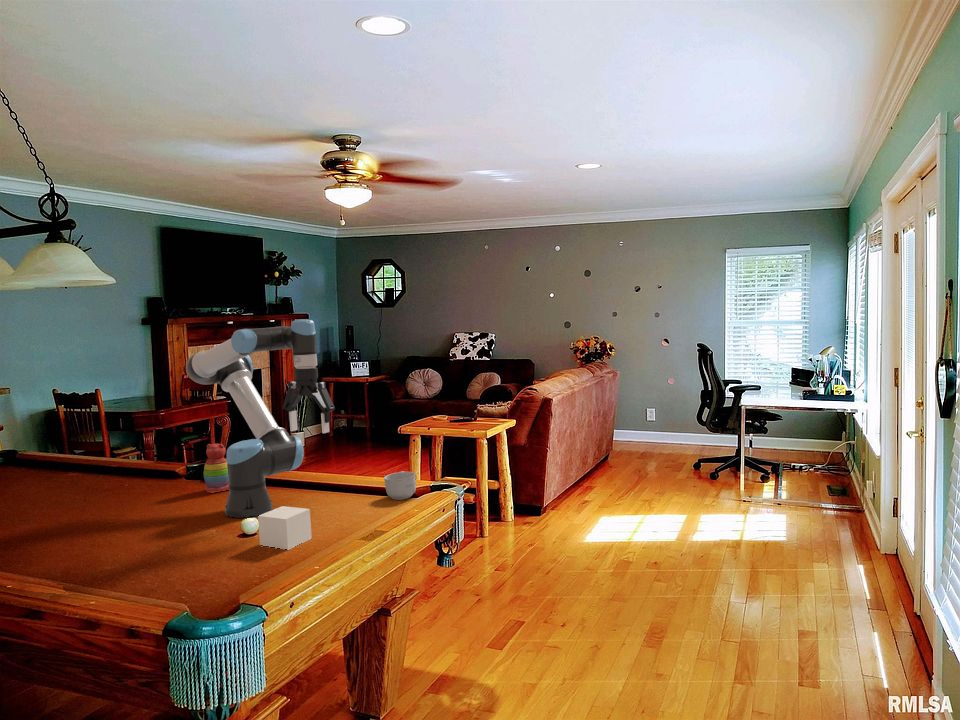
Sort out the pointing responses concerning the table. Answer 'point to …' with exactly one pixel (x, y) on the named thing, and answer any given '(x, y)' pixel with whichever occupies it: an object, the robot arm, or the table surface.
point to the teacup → (400, 485)
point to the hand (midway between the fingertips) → (309, 431)
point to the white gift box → (285, 527)
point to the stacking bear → (216, 468)
